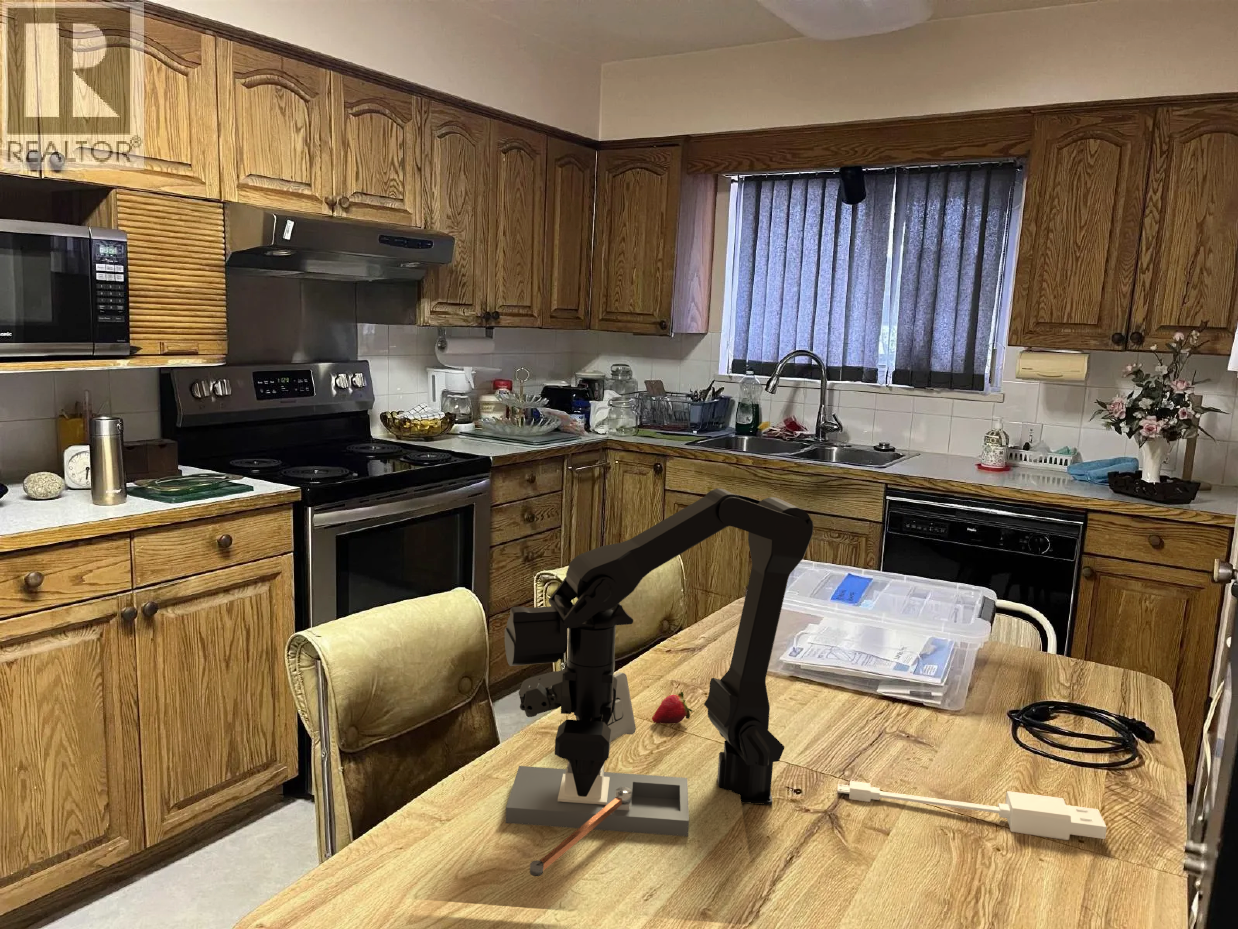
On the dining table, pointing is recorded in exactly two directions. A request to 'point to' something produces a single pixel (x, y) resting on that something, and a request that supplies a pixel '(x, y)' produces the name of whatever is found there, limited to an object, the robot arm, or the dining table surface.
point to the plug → (595, 795)
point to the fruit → (672, 710)
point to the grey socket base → (650, 810)
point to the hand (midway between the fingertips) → (585, 776)
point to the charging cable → (1010, 811)
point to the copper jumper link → (581, 831)
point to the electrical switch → (621, 710)
